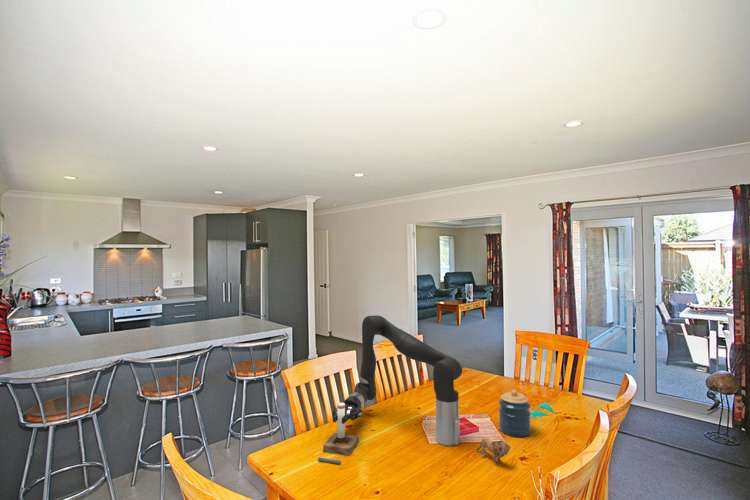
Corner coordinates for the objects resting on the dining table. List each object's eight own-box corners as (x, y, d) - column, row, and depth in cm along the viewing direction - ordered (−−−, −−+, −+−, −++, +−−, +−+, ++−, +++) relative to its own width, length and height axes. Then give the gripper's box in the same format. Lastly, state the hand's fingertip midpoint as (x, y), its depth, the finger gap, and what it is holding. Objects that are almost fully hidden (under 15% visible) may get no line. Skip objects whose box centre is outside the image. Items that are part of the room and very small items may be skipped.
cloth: (540, 424, 174) (540, 419, 174) (514, 413, 185) (514, 409, 185) (572, 411, 188) (572, 406, 188) (546, 402, 199) (546, 398, 199)
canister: (531, 427, 169) (531, 387, 169) (530, 440, 157) (529, 397, 157) (500, 422, 174) (500, 383, 175) (497, 434, 163) (496, 392, 163)
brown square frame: (359, 442, 156) (359, 436, 156) (349, 455, 146) (349, 449, 146) (334, 438, 160) (334, 432, 160) (323, 451, 149) (323, 445, 149)
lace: (341, 463, 140) (341, 460, 140) (340, 465, 139) (340, 461, 139) (318, 459, 143) (318, 456, 143) (317, 461, 142) (317, 458, 142)
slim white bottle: (346, 435, 154) (346, 402, 154) (343, 438, 151) (343, 405, 151) (339, 434, 155) (339, 402, 155) (336, 437, 152) (336, 405, 152)
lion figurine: (513, 465, 138) (512, 440, 139) (504, 470, 135) (503, 445, 135) (480, 449, 150) (480, 426, 151) (471, 453, 147) (471, 429, 147)
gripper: (338, 393, 169) (321, 409, 152) (368, 397, 165) (355, 413, 148) (338, 410, 169) (321, 427, 152) (368, 414, 165) (355, 432, 148)
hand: (338, 420), depth 150 cm, fingers closed on slim white bottle, 3 cm apart
